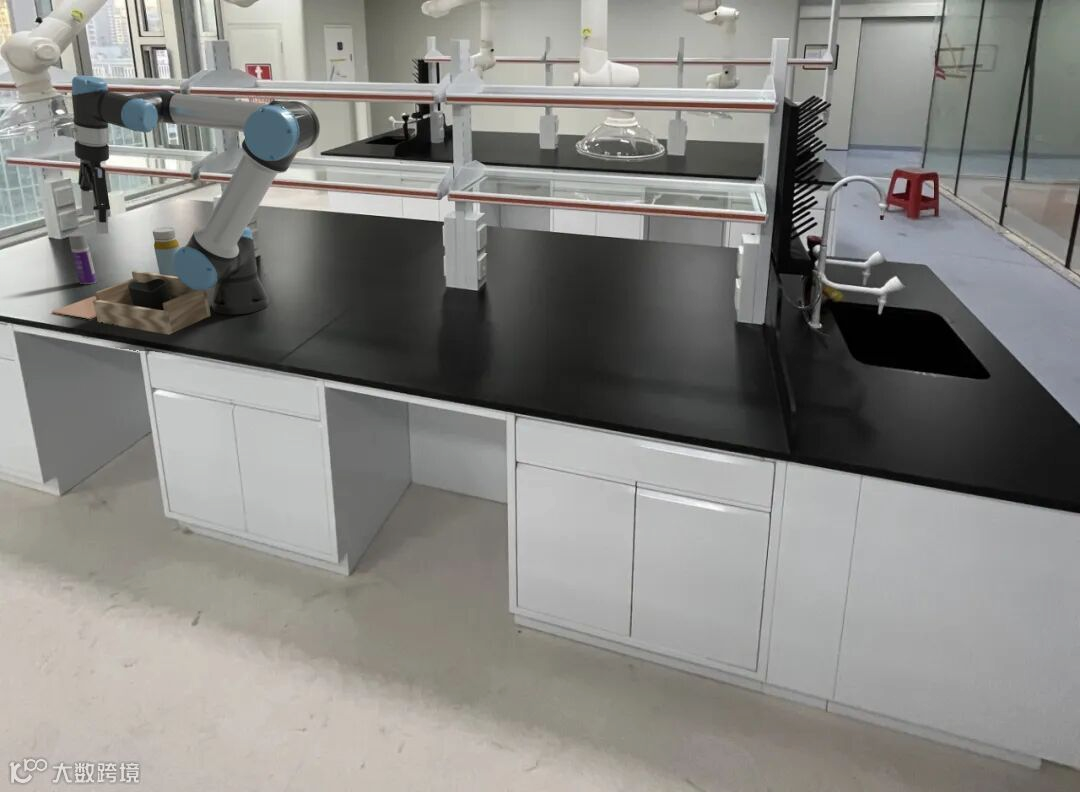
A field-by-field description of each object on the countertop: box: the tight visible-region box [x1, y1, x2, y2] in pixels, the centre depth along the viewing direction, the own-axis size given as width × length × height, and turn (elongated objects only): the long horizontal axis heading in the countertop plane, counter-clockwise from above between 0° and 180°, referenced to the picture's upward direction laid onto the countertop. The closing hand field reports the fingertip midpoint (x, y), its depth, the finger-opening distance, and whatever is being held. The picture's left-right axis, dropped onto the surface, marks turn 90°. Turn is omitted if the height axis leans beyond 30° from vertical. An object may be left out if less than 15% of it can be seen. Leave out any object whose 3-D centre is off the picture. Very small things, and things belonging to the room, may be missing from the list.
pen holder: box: [128, 279, 170, 311], centre depth 217 cm, size 9×9×10 cm
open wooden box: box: [93, 270, 212, 335], centre depth 217 cm, size 24×15×10 cm, turn 69°
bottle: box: [152, 226, 181, 277], centre depth 250 cm, size 7×7×15 cm
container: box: [68, 232, 98, 286], centre depth 244 cm, size 5×5×15 cm
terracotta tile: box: [51, 295, 97, 320], centre depth 226 cm, size 14×14×1 cm
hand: (94, 224), depth 211 cm, fingers open, 13 cm apart
